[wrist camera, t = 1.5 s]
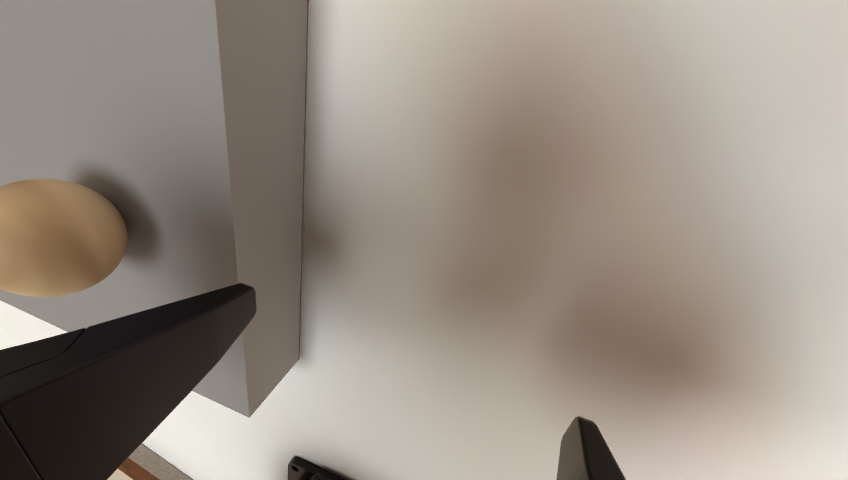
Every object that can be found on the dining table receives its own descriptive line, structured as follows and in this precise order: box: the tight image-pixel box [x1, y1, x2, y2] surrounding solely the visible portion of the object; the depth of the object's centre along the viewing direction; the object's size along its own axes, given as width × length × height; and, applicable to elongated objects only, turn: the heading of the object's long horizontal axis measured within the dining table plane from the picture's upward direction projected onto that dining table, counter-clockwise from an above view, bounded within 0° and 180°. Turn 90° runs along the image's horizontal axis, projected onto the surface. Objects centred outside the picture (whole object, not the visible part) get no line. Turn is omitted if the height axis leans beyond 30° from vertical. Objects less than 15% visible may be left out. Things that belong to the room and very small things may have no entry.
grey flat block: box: [0, 0, 308, 418], centre depth 15 cm, size 16×22×4 cm
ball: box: [0, 179, 128, 297], centre depth 11 cm, size 4×4×4 cm
